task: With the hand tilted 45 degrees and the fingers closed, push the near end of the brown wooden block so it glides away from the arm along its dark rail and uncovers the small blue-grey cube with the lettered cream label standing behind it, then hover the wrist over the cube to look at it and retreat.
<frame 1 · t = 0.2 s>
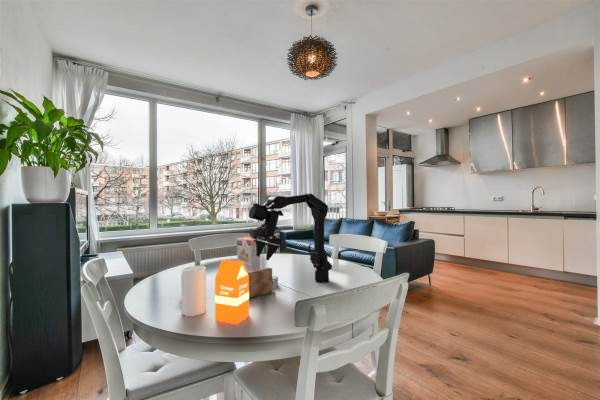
hand: (262, 258, 124), 15 cm above the table, tool tilted 15°, fingers open, 9 cm apart
canned food: (191, 298, 119), on the table
letter cube: (272, 286, 134), on the table
cracker box: (248, 278, 149), on the table
cup: (193, 312, 104), on the table
brown wooden block: (258, 281, 120), point 6 cm above the table, slide at 0.0 cm
orange juice: (232, 318, 98), on the table
rail: (250, 298, 118), on the table
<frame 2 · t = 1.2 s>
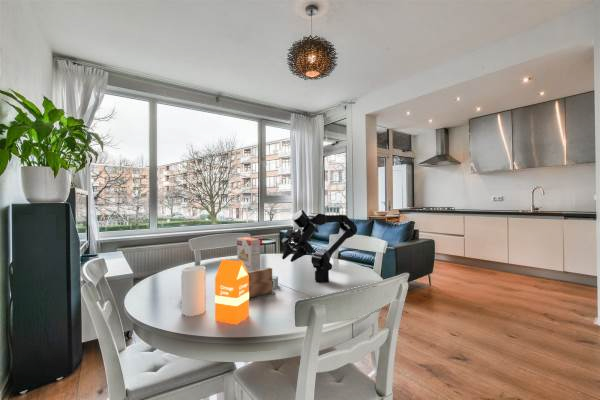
hand: (286, 260, 129), 13 cm above the table, tool tilted 45°, fingers open, 6 cm apart
nothing on the table moved.
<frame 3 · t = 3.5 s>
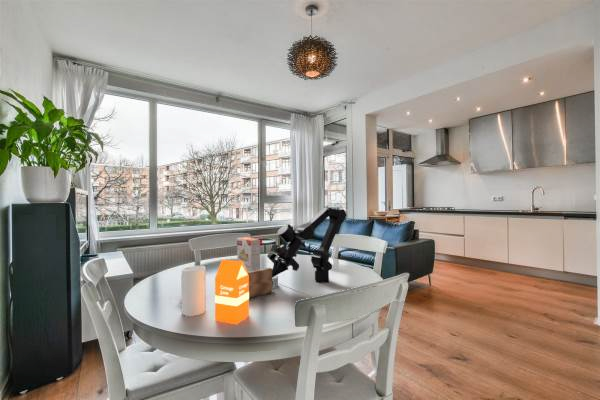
hand: (271, 276, 124), 7 cm above the table, tool tilted 45°, fingers closed, pressing on brown wooden block
brown wooden block: (258, 281, 120), point 6 cm above the table, slide at 0.0 cm, touching gripper
everything else where it was.
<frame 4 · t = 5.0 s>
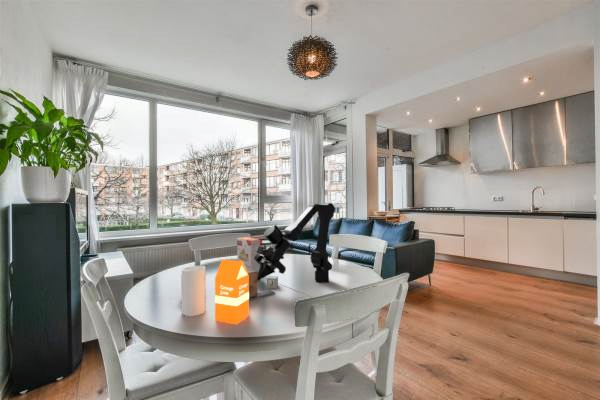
hand: (257, 279, 120), 7 cm above the table, tool tilted 45°, fingers closed, pressing on brown wooden block
brown wooden block: (243, 285, 116), point 6 cm above the table, slide at 7.2 cm, touching gripper
everything else where it was.
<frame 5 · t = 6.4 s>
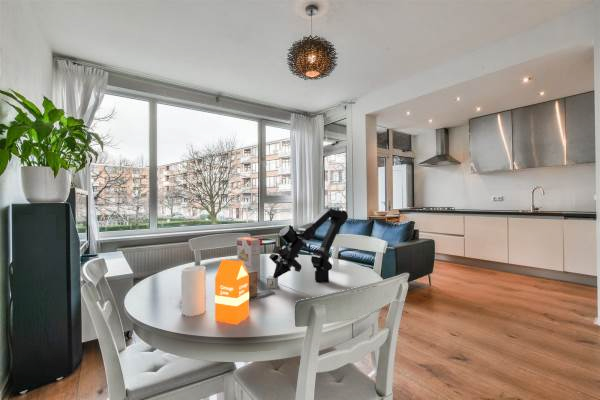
hand: (274, 277, 125), 7 cm above the table, tool tilted 45°, fingers closed
brown wooden block: (243, 285, 116), point 6 cm above the table, slide at 7.2 cm
everything else where it was.
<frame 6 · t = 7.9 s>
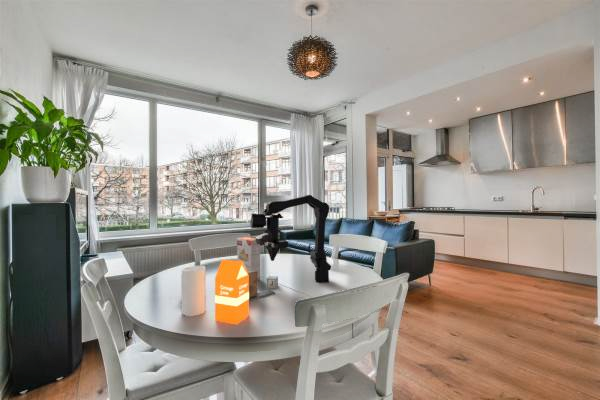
hand: (272, 260, 134), 12 cm above the table, tool pointing down, fingers closed
nothing on the table moved.
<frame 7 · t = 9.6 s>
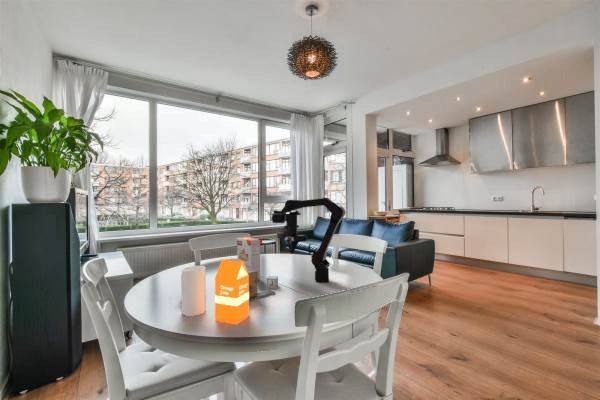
hand: (291, 253, 148), 13 cm above the table, tool pointing down, fingers closed
nothing on the table moved.
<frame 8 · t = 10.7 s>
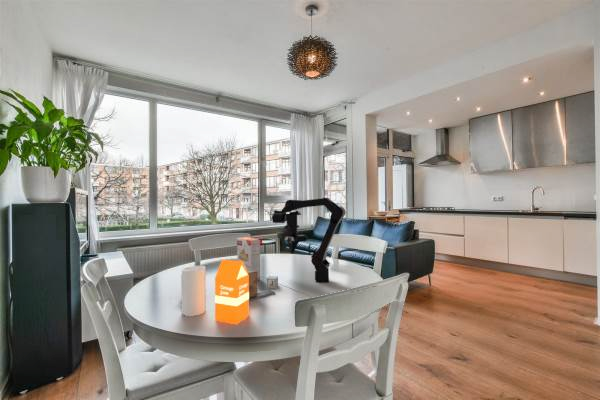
hand: (292, 253, 148), 13 cm above the table, tool pointing down, fingers closed
nothing on the table moved.
at the end: brown wooden block slide at 7.2 cm; letter cube moved 0.1 cm from its start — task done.
